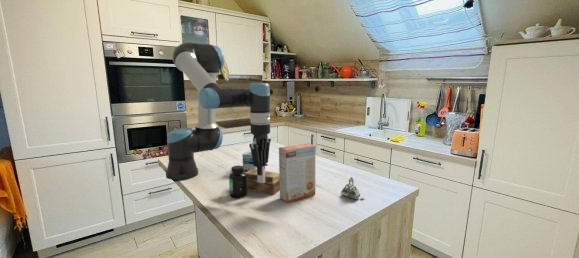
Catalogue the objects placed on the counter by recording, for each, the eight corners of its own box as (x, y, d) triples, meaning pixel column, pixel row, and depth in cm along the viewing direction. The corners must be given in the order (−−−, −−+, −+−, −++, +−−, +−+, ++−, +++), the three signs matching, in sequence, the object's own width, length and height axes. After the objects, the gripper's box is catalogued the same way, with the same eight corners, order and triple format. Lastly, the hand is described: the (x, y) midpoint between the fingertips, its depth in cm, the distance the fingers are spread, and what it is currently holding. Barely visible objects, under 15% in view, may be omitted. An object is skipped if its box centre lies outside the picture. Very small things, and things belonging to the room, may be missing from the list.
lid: (237, 178, 117) (237, 172, 117) (251, 170, 128) (251, 165, 127) (274, 184, 110) (274, 178, 109) (286, 175, 121) (286, 169, 120)
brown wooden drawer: (237, 188, 118) (237, 179, 117) (252, 179, 129) (251, 171, 128) (274, 194, 111) (274, 185, 110) (286, 185, 121) (286, 176, 121)
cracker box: (307, 190, 115) (307, 142, 112) (315, 195, 110) (316, 145, 107) (278, 197, 107) (278, 146, 104) (286, 203, 102) (286, 149, 99)
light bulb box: (255, 175, 134) (254, 154, 133) (242, 175, 136) (241, 154, 134) (261, 169, 145) (261, 150, 143) (249, 168, 146) (249, 149, 144)
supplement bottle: (230, 199, 106) (229, 170, 104) (229, 193, 112) (228, 165, 110) (247, 197, 108) (247, 168, 106) (245, 191, 114) (245, 164, 112)
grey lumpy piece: (370, 194, 112) (371, 176, 110) (359, 200, 106) (359, 181, 104) (351, 188, 118) (352, 171, 117) (340, 194, 112) (340, 176, 111)
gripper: (260, 126, 96) (261, 189, 100) (276, 122, 108) (277, 178, 112) (242, 125, 99) (244, 186, 103) (260, 121, 111) (261, 176, 115)
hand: (261, 182), depth 107 cm, fingers closed
